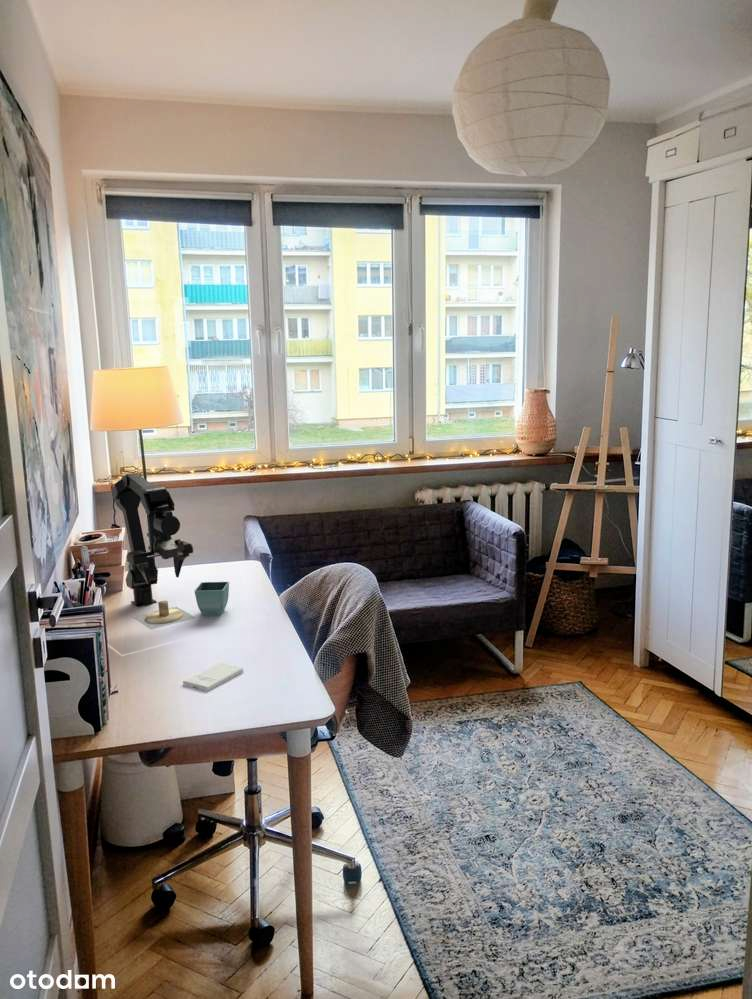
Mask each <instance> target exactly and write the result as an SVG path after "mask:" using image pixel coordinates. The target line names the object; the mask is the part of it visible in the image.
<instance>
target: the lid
mask: <svg viewBox="0 0 752 999" xmlns="http://www.w3.org/2000/svg"><path fill="white" fill-rule="evenodd" d="M157 603H158V605H157V606H158V610H154V611H151V612H150V613H146V614H147V615H146V617H145V618H146V621H147V622H149V623H154V624H161V623H169V622H173V621H176V620H179V619H180V618H182V617H183V612H182V611H181V610H178V609H169V602H168V600H161V601H158V602H157Z"/></svg>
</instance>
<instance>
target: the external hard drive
mask: <svg viewBox="0 0 752 999" xmlns="http://www.w3.org/2000/svg"><path fill="white" fill-rule="evenodd" d="M241 672H242V673H244V668H243V667H240V666H238V665H237V666H236V665H232V664H229V663H225V662H217V663H216V664H213V665H212V666H209V667H208V668H206V669H204V670H202V671H200V672H199V673H196V674H194V675H192V676H191V677H189V678H186V679H185V680H182V685H183V684H185V686H187V685H189V686H188V687H190V686H192V687H191V688H195V687H197V688H196V689H198V688H199V690H202V689H203V690H202V691H205V690H206V692H209V691H212V690H213V689H215V688H217V687H218V686H220V685H222V684H224V683H226V682H228V681H230V680H231V679H233V678H235V677H237V676H239V675H241V674H242V673H241ZM240 673H241V674H240ZM238 674H239V675H238ZM236 675H237V676H236ZM234 676H235V677H234ZM232 677H233V678H232ZM230 678H231V679H230ZM229 679H230V680H229ZM227 680H228V681H227ZM225 681H226V682H225ZM223 682H224V683H223ZM221 683H222V684H221ZM216 686H217V687H216ZM214 687H215V688H214Z"/></svg>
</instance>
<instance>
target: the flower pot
mask: <svg viewBox="0 0 752 999" xmlns="http://www.w3.org/2000/svg"><path fill="white" fill-rule="evenodd" d="M229 592H230V581H202V582H200V583H199V585H198V586H197V587H196V589H195V590H194V594H195V595H194V596H195V600H196V604H197V607H198V610H199V611H200V613H201V614H202V615H203V616H204V617H211V616H212V617H213V616H214V617H215V616H218V617H219V616H222V615H223V613H224V611H225V609H226V607H227V605H228V602H229Z"/></svg>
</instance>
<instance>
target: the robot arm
mask: <svg viewBox="0 0 752 999" xmlns="http://www.w3.org/2000/svg"><path fill="white" fill-rule="evenodd" d="M111 496H112V499H113V500H114V502H115V505H116V507H117V508H118V509H119V510H120V511H121V512H122V514H123V520H124V524H125V530H126V535H127V539H128V544H129V550H130V551H129V552H128V553H127V554H126V562H127V563H128V566H127V567H128V571H127V574H126V577H125V583H126V587H128V588H129V589H130V590H132V591H133V600H131V601H130V604H131V603H132V604H131V605H133V606H134V607H137V608H140V607H144V606H148V605H152V604H153V605H154V604H157V603H158V602H157V600H155V599H154V598H153V597H154V596H153V589H152V585H156V584H158V574H159V569H158V568H157V566H156V564H155V559H154V558H156V557H161V559H163V560H168V559H172V558H173V568H174V574H175V577H176V578H179V577H180V573H181V570H182V567H183V563H184V561H185V559H186V558H187V557H190V555H191V554H193V553H194V547H193V544H191V543H190V542H187V541H184V540H183V539H182V538H177V539H173V537H172V536H173V535H176V534H177V533H178V532H179V530H180V528H181V522H180V520H179V519H178V517H177V516H174V515H173V512H174V511H175V505H176V504H175V502H174V500H173V498H172V496H171V494H170V492H169V490H167V488H166V487H165V486H162V485H156V484H155V485H154V484H152V483H151V482H149V481H148V480H147V479H145V478H144V477H143V476H142V474H141V473H140V472H134V473H133V472H132V473H126V474H123V476H122V478H121V479H120V480H118V481H117V482H115V483H114V484H113V487H112V489H111ZM140 504H142V506H143V509H144V511H145V512H144V513H145V514H146V521H147V530H148V532H146V537H148V539H149V541H148V542H149V546H148V551H147V548H146V543H145V538H144V534H143V529H142V523H141V519H140V514H139V506H140Z"/></svg>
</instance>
